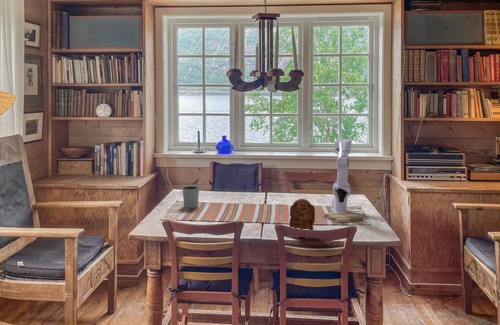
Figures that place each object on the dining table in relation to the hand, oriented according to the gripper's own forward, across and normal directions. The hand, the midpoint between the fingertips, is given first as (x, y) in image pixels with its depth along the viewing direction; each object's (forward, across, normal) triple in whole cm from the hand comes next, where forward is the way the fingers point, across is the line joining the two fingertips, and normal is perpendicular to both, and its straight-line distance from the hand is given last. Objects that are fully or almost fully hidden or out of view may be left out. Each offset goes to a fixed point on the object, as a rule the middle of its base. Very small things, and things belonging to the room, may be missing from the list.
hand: (341, 202), depth 254 cm
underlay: (+9, +2, 0) cm, 9 cm away
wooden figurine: (+9, +23, -36) cm, 44 cm away
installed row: (+9, +2, +5) cm, 10 cm away
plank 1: (+9, -2, -4) cm, 10 cm away
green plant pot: (+9, -52, -74) cm, 91 cm away
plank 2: (+9, +6, -4) cm, 11 cm away
